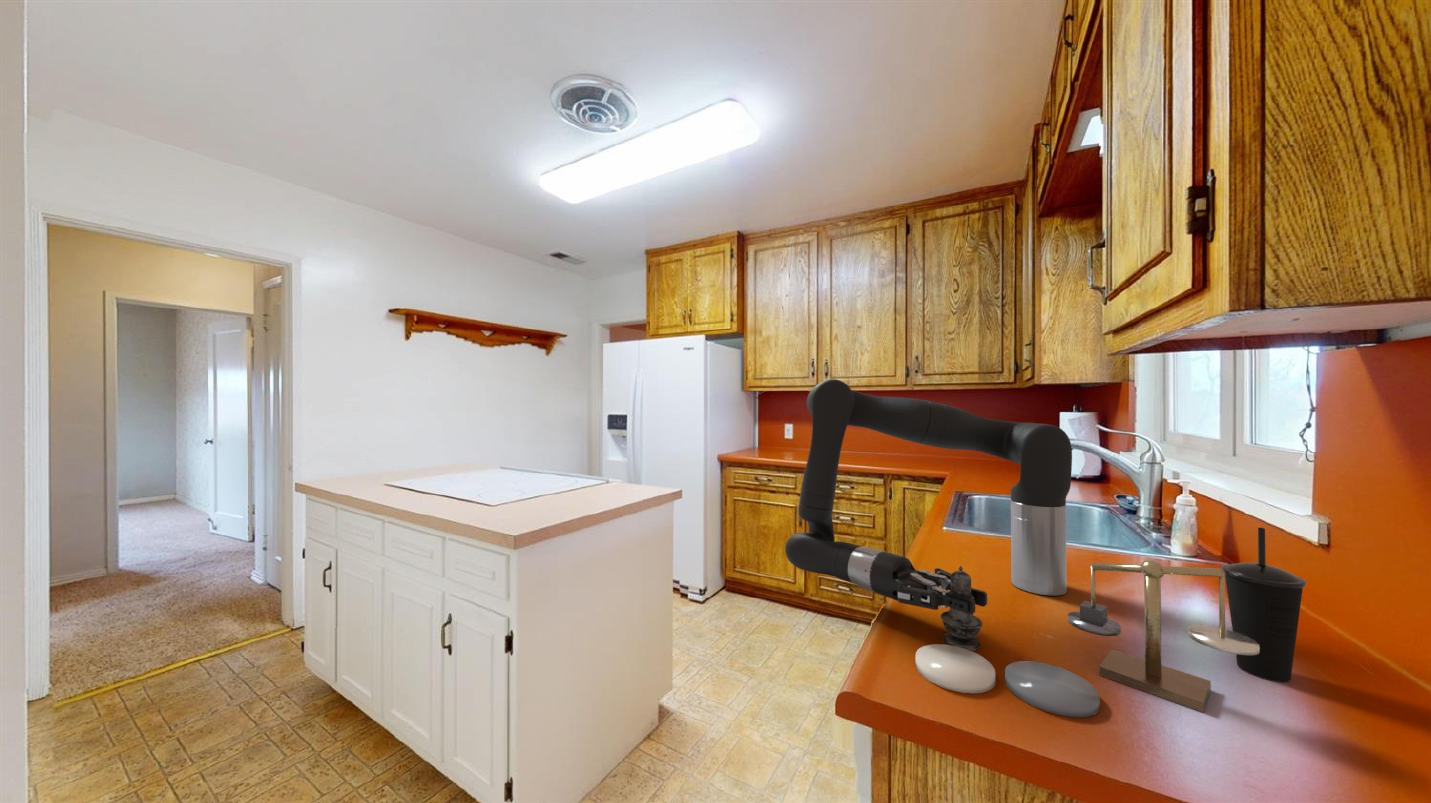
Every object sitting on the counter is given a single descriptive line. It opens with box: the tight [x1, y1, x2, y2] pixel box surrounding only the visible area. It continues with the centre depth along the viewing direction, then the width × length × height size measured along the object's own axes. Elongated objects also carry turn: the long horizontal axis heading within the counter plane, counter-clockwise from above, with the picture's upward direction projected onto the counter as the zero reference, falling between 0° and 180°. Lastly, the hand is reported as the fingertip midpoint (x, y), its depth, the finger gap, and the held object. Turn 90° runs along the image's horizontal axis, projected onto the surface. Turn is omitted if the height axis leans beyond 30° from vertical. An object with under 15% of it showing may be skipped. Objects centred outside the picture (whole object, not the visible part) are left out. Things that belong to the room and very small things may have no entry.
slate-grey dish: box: [1004, 660, 1101, 718], centre depth 61 cm, size 10×10×1 cm
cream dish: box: [914, 643, 996, 694], centre depth 66 cm, size 10×10×1 cm
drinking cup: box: [1221, 527, 1307, 683], centre depth 65 cm, size 8×8×20 cm
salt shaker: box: [940, 565, 983, 652], centre depth 74 cm, size 6×6×12 cm
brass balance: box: [1067, 559, 1260, 713], centre depth 63 cm, size 7×19×17 cm, turn 38°
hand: (979, 603), depth 71 cm, fingers closed on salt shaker, 3 cm apart
